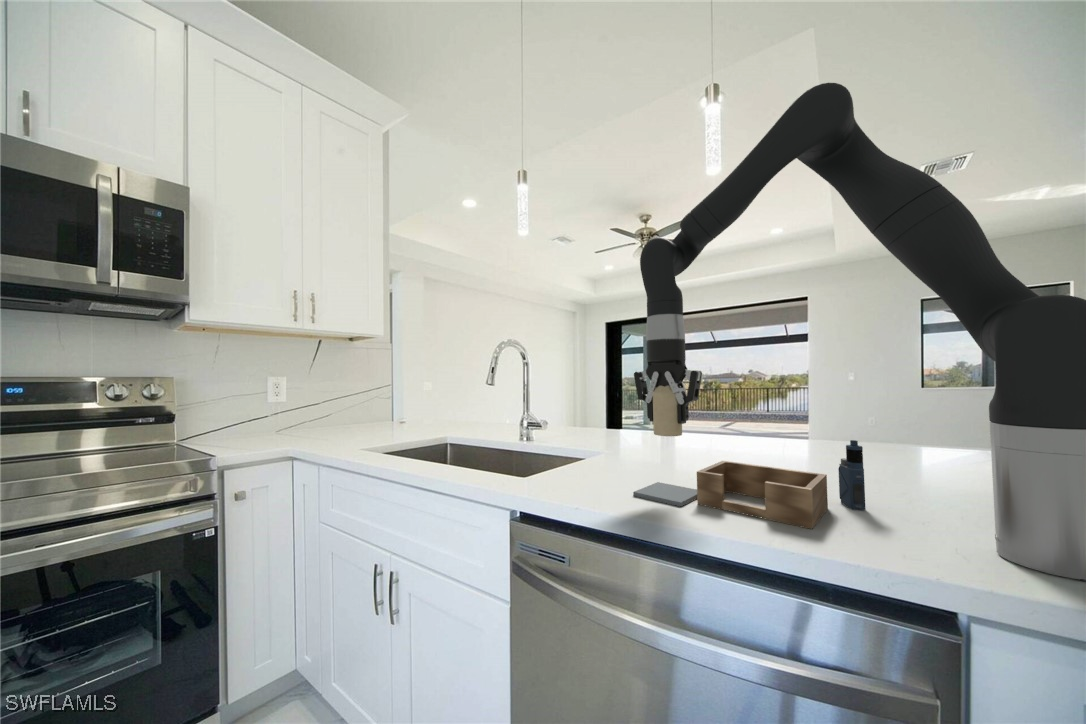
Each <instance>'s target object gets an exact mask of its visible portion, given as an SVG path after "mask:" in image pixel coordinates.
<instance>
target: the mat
mask: <svg viewBox="0 0 1086 724" xmlns="http://www.w3.org/2000/svg"><path fill="white" fill-rule="evenodd" d="M632 493H633V494H632V496H633V497H637V498H640V497H641V499H645V500H650V501H655V502H659V503H662V502H663V504H666V503H667V505H671V504H672V505H671V506H675V505H677V506H676V507H680V506H682V507H684V506H686V505H688V504H689V502H690V501H691V502H693V501H695V500H697V499H696V498H697V488H696V489H695V488H691V487H685V486H680V485H676V484H670V483H664V482H660V481H657V482H654V483H652V484H650V485H649V484H648V485H647V486H645V487H642V488H639V489H637V490H634V491H633V492H632ZM694 499H695V500H694ZM692 500H693V501H692ZM691 502H690V503H691ZM687 503H688V504H687ZM685 504H686V505H685ZM683 505H684V506H683Z"/></svg>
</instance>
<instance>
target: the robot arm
mask: <svg viewBox="0 0 1086 724" xmlns="http://www.w3.org/2000/svg"><path fill="white" fill-rule="evenodd" d="M796 159H798V161H800V162H801V163H802V164H804V165H805V166H807V168H809V169H810V170H812V171H813V172H814V173H816V174H817V175H818V176H819V177H821V178H822V179H823V180H824V181H826V182H827V183H828V184H829V185H831V187H832V188H834V189H835V190H836V192H838V194H839V195H840V196H841V197H842V199H843V200H844V202H845V203H846V204H847V206H848V207H849V208H850V210H851V211H852V212H853V213H854V215H855V216H856V217H857V218H858V219H859V220H860V222H862V224H863V225H864V226H865V227H866V229H867V230H868V231H869V232H870V233H871V234H872V236H874V238H875V239H877V240H878V241H879V242H880V244H881V245H882V246H884V248H885V249H887V251H888V252H889V253H890V254H891V255H893V256H894V257H895V258H896V259H897V260H898V261H899V262H900V263H901V264H902V265H904V267H905V268H907V270H909V271H910V272H911V273H912V274H913V275H914V276H915V277H916V278H918V280H920V281H921V282H922V283H923V284H925V286H927V287H928V288H929V289H930V290H931V291H933V293H935V294H936V295H937V296H938V297H939V298H940V299H941V300H942V301H943V302H944V303H945V304H946V306H947V307H948V308H949V309H950V310H951V312H952V313H953V314H954V316H955V317H956V318H957V319H958V321H959V322H960V323H961V325H963V327H964V328H965V330H966V331H967V332H968V333H969V335H970V336H971V338H972V339H973V340H974V342H975V343H976V344H977V346H978V347H979V348H980V350H981V351H982V353H984V354H985V355H986V356H987V357H988V358H989V359H990V360H992V361H994V363H995V365H994V366H995V388H994V393H993V395H992V398H991V400H990V402H989V404H988V418H989V435H990V437H989V438H990V453H991V454H990V457H991V473H992V492H993V493H992V495H993V509H994V510H993V511H994V527H995V528H994V530H995V533H994V540H995V544H996V545H995V549H996V553H997V554H998V555H999V556H1000V557H1002V558H1004V559H1006V560H1008V561H1009V562H1012V563H1015V564H1018V565H1019V566H1022V567H1026V568H1029V569H1031V570H1036V571H1037V572H1041V573H1042V572H1043V573H1045V574H1050V575H1054V576H1060V577H1064V578H1068V579H1075V580H1080V579H1085V580H1084V581H1086V299H1085V298H1082V297H1079V296H1075V295H1069V294H1046V295H1038V294H1037V293H1036V292H1034V291H1033V290H1032V289H1031V288H1030V287H1028V286H1027V285H1025V284H1024V283H1023V282H1022V281H1021V280H1020V279H1018V278H1017V277H1016V276H1014V275H1013V273H1011V272H1010V271H1009V270H1008V269H1007V268H1006V267H1005V266H1004V265H1003V264H1002V263H1001V261H1000V259H999V258H998V256H997V255H996V253H995V251H994V250H993V248H992V246H991V244H990V242H989V239H988V238H987V236H986V235H985V232H984V231H983V229H982V228H981V227H982V226H980V223H979V222H978V221H977V219H976V217H975V216H974V214H972V212H971V211H970V209H968V207H967V206H966V205H964V203H963V202H962V201H961V200H959V198H958V197H956V195H954V194H953V193H952V191H951V192H950V190H948V188H946V187H945V186H943V184H942V183H940V181H938V180H937V179H935V178H934V177H932V176H931V175H929V174H928V173H926V172H924V171H922V170H920V169H918V168H916V167H914V166H912V165H909V164H908V163H905V162H903V161H900V160H899V159H896V158H894V157H893V156H890V155H888V154H886V152H884V151H883V150H881V149H880V148H879V147H878V146H877V145H876V144H875V143H874V142H873V141H872V140H871V139H870V137H869V136H867V134H866V133H865V131H863V130H862V128H861V126H860V125H859V124H858V123H857V120H856V118H855V109H854V101H853V97H852V94H851V92H850V90H849V89H848V87H846V86H844V85H843V84H840V83H837V82H824V83H820V84H818V85H814V86H812V87H811V88H809V89H807V90H806V91H805V92H803V93H802V94H800V95H799V96H798V97H797V98H796V99H795V100H794V101H793V102H792V103H791V104H790V105H789V107H787V108H786V109H785V111H784V112H783V114H781V115H780V117H779V118H778V119H777V120H776V121H775V123H774V124H773V126H771V128H770V129H769V130H768V131H767V132H766V133H765V135H764V136H763V137H762V138H761V139H760V141H759V142H758V143H756V145H755V146H754V148H752V150H751V151H749V153H748V154H747V155H746V156H745V157H744V158H743V160H742V161H741V162H740V163H739V164H738V165H737V166H736V167H735V168H734V169H733V170H732V171H731V172H730V174H728V176H727V177H725V179H723V180H722V181H721V182H720V184H719V185H717V186H716V187H715V188H714V189H713V190H712V191H711V192H710V193H709V194H707V196H705V197H704V198H703V199H702V200H701V201H700V202H698V204H697V205H695V206H694V207H693V208H692V209H691V210H690V211H689V212H687V214H686V215H685V216H684V217H682V219H681V220H680V224H679V228H680V231H679V233H678V234H677V235H676V236H675V237H674V238H673V239H672V240H669V239H668V238H665V237H659V236H657V237H653V238H652V239H650V240H648V241H647V242H646V243H645V244H644V246H643V248H642V250H641V252H640V253H641V254H640V258H639V265H640V273H641V277H642V283H643V286H644V290H645V295H646V324H645V325H646V326H645V327H646V329H645V332H646V333H645V338H646V342H645V343H646V344H645V346H646V362H647V367H646V370H641V371H635V372H634V373H633V377H634V383H635V389H636V394H637V399H638V400H640V401H643V402H645V403H646V415H647V416H646V417H647V419H649V422H651V423H653V392H654V390H655V389H656V388H657V387H658V386H664V387H665V386H668V385H669V386H670V387H671V389H672V392H673V393H674V394H676V398H677V401H678V403H679V405H677V406H678V423H679V424H682V425H684V424H686V423H687V422H688V421H689V419H690V418H689V417H690V416H689V415H690V413H689V405H690V403H692V402H695V401H696V402H697V401H698V400H699V397H700V396H699V394H700V389H701V383H702V377H703V371H701V370H692V369H688V367H687V365H686V360H687V359H686V358H687V357H686V327H685V321H684V303H683V302H684V300H683V293H682V292H683V291H682V290H681V288H680V287H679V286H678V285H677V282H676V277H677V276H679V275H681V274H682V273H683V272H684V271H686V270H687V269H688V268H689V267H690V266H691V265H692V263H693V262H694V261H695V260H696V259H697V257H699V255H700V254H701V253H702V251H703V250H704V249H705V247H706V246H707V245H708V244H709V243H711V242H712V241H713V240H715V239H716V238H717V237H718V236H719V235H721V234H722V233H723V232H724V231H725V230H727V229H728V228H729V227H730V226H732V224H734V223H735V222H736V221H737V220H738V219H739V218H740V217H741V216H742V215H743V213H744V212H745V211H747V209H748V207H749V206H750V205H751V204H752V203H753V202H754V200H755V199H756V197H757V196H758V195H759V194H760V193H761V192H762V190H764V188H766V186H767V185H768V183H770V181H771V180H773V178H774V177H776V175H778V174H779V172H781V171H782V170H784V168H785V167H787V166H788V165H789V164H790V163H792V162H793V161H795V160H796ZM686 377H687V380H688V381H689V382H688V386H687V387H688V389H686V387H685V384H684V382H683V381H684V379H685V378H686ZM648 379H649V380H650V383H649V386H648V384H647V380H648Z"/></svg>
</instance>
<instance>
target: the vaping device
mask: <svg viewBox="0 0 1086 724" xmlns="http://www.w3.org/2000/svg"><path fill="white" fill-rule="evenodd" d="M849 442H850V443H849V444H846V445H845V453H846V454H845V456H846V458H840V463H839V464H838V465H839V466H838V490H839V492H838V493H839V499H840V503H841V504H842V505H844V506H845V507H847V508H848V509H851V510H856V511H867V510H866V489H865V488H866V486H865V468H864V454H863V452H864V450H863V448H864V447H863V446H862V445H858V443H859V441H858V440H854V439H851V440H849Z"/></svg>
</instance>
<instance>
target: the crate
mask: <svg viewBox="0 0 1086 724" xmlns="http://www.w3.org/2000/svg"><path fill="white" fill-rule="evenodd" d="M827 475H828V474H825V473H818V472H811V471H803V470H802V471H801V470H796V469H795V470H794V469H790V468H789V469H788V468H780V467H774V466H765V465H759V464H752V463H751V464H750V463H745V462H744V463H743V462H734V461H729V460H728V461H727V460H720V461H719V462H716V463H714V464H712V465H710V466H707V467H704V468H701V469H700V470H697V471H696V489H697V499H696V500H697V501H696V502H697V503H698V504H697V505H699V504H702V505H701V506H704V505H706V506H705V507H708V506H710V507H709V508H713V507H715V508H714V509H718V508H720V509H719V510H722V509H725V510H724V511H727V510H730V511H729V512H731V511H735V512H734V513H736V512H739V513H738V514H740V513H744V514H743V515H745V514H748V515H747V516H750V515H753V516H752V517H754V516H757V517H756V518H759V517H762V518H761V519H763V518H766V519H765V520H768V519H770V520H769V521H773V522H777V521H778V523H783V524H787V525H792V526H797V527H800V526H802V528H805V527H806V529H809V528H811V529H810V530H813V529H814V527H815V526H816V525H817V524H816V523H818V522H819V521H820V519H821V518H822V517H823V516H824V515H825V513H826V512H827V511H828V509H829V506H828V501H829V500H828V479H827V478H828V477H827ZM726 491H728V493H733V492H734V493H733V494H738V493H739V495H743V494H745V495H744V496H749V495H750V496H749V497H754V496H755V498H759V497H760V498H761V499H764V500H765V501H764V503H765V504H764V505H765V507H762V506H757V505H752V504H748V503H743V502H737V501H733V500H727V499H725V493H727V492H726ZM812 528H813V529H812Z"/></svg>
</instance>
